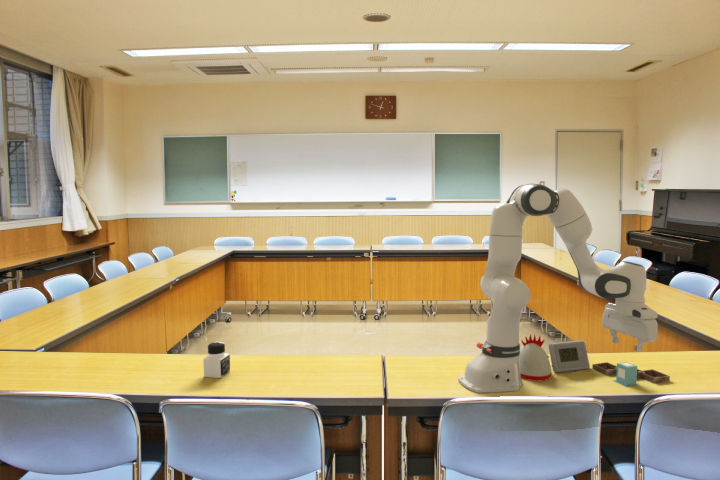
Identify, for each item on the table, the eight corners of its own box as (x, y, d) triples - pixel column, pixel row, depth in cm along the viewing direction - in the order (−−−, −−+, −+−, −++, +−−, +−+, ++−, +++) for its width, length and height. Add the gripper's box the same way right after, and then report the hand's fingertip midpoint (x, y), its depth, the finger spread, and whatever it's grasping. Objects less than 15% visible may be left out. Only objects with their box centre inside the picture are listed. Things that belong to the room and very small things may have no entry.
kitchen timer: (552, 382, 167) (553, 341, 165) (511, 378, 171) (512, 338, 170) (550, 369, 180) (551, 331, 178) (512, 365, 184) (513, 328, 183)
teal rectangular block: (626, 385, 163) (627, 367, 162) (615, 380, 167) (616, 363, 166) (636, 384, 164) (637, 365, 163) (625, 379, 168) (626, 361, 168)
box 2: (630, 380, 168) (630, 374, 168) (614, 373, 175) (614, 367, 175) (645, 378, 170) (645, 372, 170) (628, 371, 177) (629, 365, 177)
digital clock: (553, 374, 175) (554, 346, 174) (542, 365, 184) (543, 339, 183) (595, 373, 176) (596, 345, 175) (582, 364, 185) (583, 338, 184)
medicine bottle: (221, 378, 171) (220, 346, 170) (203, 377, 173) (202, 345, 172) (230, 371, 178) (229, 340, 177) (213, 370, 180) (212, 339, 179)
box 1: (606, 376, 172) (607, 370, 172) (592, 369, 179) (592, 364, 179) (621, 374, 174) (622, 368, 174) (606, 367, 181) (607, 362, 181)
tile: (626, 388, 162) (626, 387, 161) (612, 381, 167) (612, 380, 167) (639, 385, 163) (639, 384, 163) (625, 379, 169) (625, 378, 169)
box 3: (654, 384, 165) (654, 378, 164) (637, 377, 171) (637, 371, 171) (669, 382, 167) (669, 376, 166) (652, 375, 173) (652, 369, 173)
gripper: (598, 301, 172) (596, 338, 173) (647, 315, 152) (644, 356, 153) (612, 301, 174) (609, 337, 175) (662, 314, 154) (659, 355, 155)
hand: (626, 346), depth 164 cm, fingers open, 8 cm apart
